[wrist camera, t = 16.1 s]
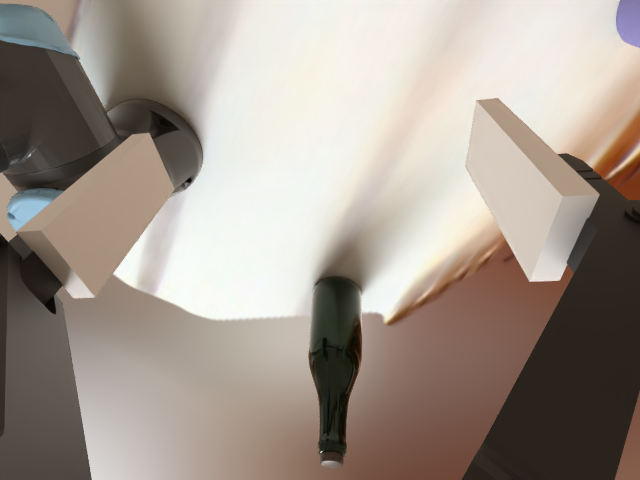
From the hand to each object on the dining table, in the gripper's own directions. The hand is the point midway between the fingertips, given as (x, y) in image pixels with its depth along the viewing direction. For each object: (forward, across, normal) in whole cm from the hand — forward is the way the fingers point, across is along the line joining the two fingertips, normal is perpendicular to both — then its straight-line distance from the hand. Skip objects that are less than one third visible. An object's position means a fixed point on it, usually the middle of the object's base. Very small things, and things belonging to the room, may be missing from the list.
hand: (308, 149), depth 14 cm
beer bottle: (+37, +4, +50) cm, 62 cm away
